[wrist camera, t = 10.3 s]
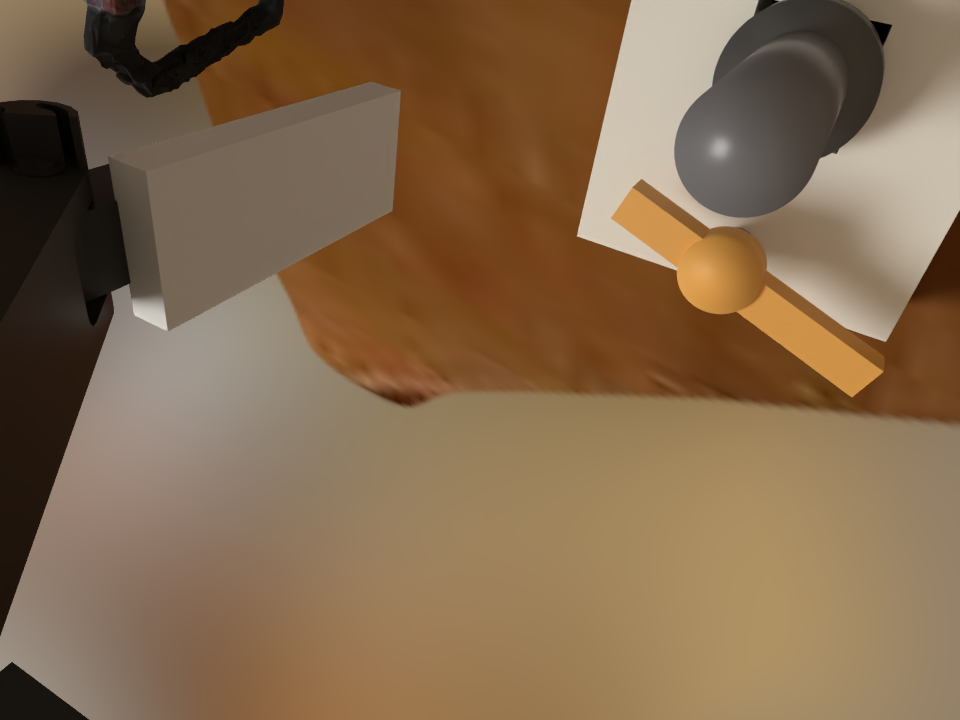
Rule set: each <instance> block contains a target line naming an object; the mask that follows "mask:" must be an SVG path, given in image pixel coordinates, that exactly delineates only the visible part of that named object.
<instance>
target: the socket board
mask: <svg viewBox="0 0 960 720" xmlns="http://www.w3.org/2000/svg"><path fill="white" fill-rule="evenodd" d="M772 1H773V0H632V1H631V5H630V9H629V14H628V18H627V22H626V27H625V31H624V35H623V40H622V44H621V48H620V53H619V57H618V61H617V65H616V70H615V74H614V78H613V83H612V87H611V91H610V96H609V100H608V104H607V109H606V113H605V117H604V122H603V126H602V130H601V135H600V139H599V143H598V148H597V152H596V156H595V160H594V165H593V169H592V173H591V178H590V182H589V186H588V191H587V195H586V199H585V204H584V208H583V212H582V217H581V221H580V225H579V230H578V234H577V236H578V237H581V238H584V239H587V240H590V241H593V242H596V243H598V244H601V245H604V246H607V247H610V248H613V249H616V250H619V251H622V252H625V253H628V254H631V255H633V256H636V257H639V258H642V259H645V260H648V261H651V262H654V263H657V264H660V265H663V266H666V267H668V268H671V269H674V270H677V269H678V268H677V267H676V266H674V265H673V264H672V263H670V262H669V261H668V260H666V259H665V258H664V257H662V256H661V255H660V254H658V253H657V252H656V251H654V250H653V249H652V248H650V247H649V246H648V245H646V244H645V243H643V242H642V241H641V240H639V239H638V238H637V237H635V236H634V235H633V234H631V233H630V232H629V231H627V230H626V229H625V228H623V227H622V226H621V225H619V224H618V223H617V222H615V221H614V220H613V219H611V217H612V216H613V214H614V213H615V212H616V210H617V209H618V207H619V206H620V204H621V203H622V202H623V200H624V199H625V197H626V196H627V194H628V193H629V191H630V190H631V189H632V187H633V186H634V185H635V184H636V183H638V182H639V181H640V180H641V179H642V180H644V181H645V182H647V183H648V184H649V185H651V186H652V187H653V188H655V189H656V190H657V191H659V192H660V193H662V194H663V195H664V196H666V197H667V198H668V199H670V200H671V201H672V202H674V203H675V204H677V205H678V206H679V207H681V208H682V209H683V210H685V211H686V212H687V213H689V214H690V215H692V216H693V217H694V218H696V219H697V220H698V221H700V222H701V223H703V224H704V225H705V226H707V227H708V228H709V229H711V228H714V227H720V226H731V227H736V228H739V229H742V230H744V231H746V232H748V233H750V234H751V235H752V236H754V237H755V238H756V239H757V240H758V241H759V243H760V244H761V245H762V247H763V249H764V251H765V254H766V259H767V271H768V272H769V273H771V274H772V275H773V276H775V277H776V278H778V279H779V280H780V281H782V282H783V283H784V284H786V285H787V286H789V287H790V288H791V289H793V290H794V291H795V292H797V293H798V294H799V295H801V296H802V297H804V298H805V299H806V300H808V301H809V302H810V303H812V304H813V305H814V306H816V307H817V308H819V309H820V310H821V311H823V312H824V313H825V314H827V315H828V316H829V317H831V318H832V319H834V320H835V321H836V322H838V323H839V324H840V325H842V326H843V327H844V328H847V329H849V330H852V331H855V332H858V333H861V334H864V335H867V336H870V337H873V338H876V339H879V340H882V341H884V342H886V341H887V339H888V337H889V335H890V333H891V332H892V330H893V328H894V326H895V325H896V323H897V321H898V319H899V317H900V316H901V314H902V312H903V310H904V308H905V307H906V305H907V303H908V301H909V300H910V298H911V296H912V294H913V292H914V291H915V289H916V287H917V285H918V283H919V282H920V280H921V278H922V276H923V275H924V273H925V271H926V269H927V267H928V266H929V264H930V262H931V260H932V258H933V257H934V255H935V253H936V251H937V250H938V248H939V246H940V244H941V242H942V241H943V239H944V237H945V235H946V233H947V232H948V230H949V228H950V226H951V225H952V223H953V221H954V219H955V217H956V216H957V214H958V212H959V210H960V0H843V1H846V2H848V3H850V4H851V5H853V6H854V7H856V8H858V9H859V10H860V11H861V12H862V13H863V14H864V15H866V16H867V18H868V19H869V20H871V21H876V22H881V23H886V24H890V25H891V26H890V28H889V31H888V33H887V35H886V38H885V40H884V42H883V44H882V46H883V51H884V60H885V68H884V78H883V82H882V87H881V91H880V95H879V98H878V100H877V103H876V106H875V108H874V110H873V112H872V114H871V116H870V117H869V119H868V120H867V122H866V123H865V125H864V126H863V127H862V128H861V130H860V131H859V132H858V133H857V134H856V135H855V136H854V137H853V138H852V139H851V140H850V141H849V142H848V143H846V144H845V145H844V146H842V147H841V148H839V149H838V150H836V151H835V152H833V153H831V154H829V155H827V156H825V157H823V158H820V159H819V162H818V164H817V166H816V169H815V171H814V173H813V175H812V177H811V179H810V180H809V182H808V183H807V185H806V186H805V188H804V189H803V190H802V191H801V192H800V193H799V195H797V196H796V197H795V198H794V199H793V200H792V201H791V202H789V203H788V204H786V205H785V206H783V207H781V208H779V209H778V210H776V211H773V212H771V213H768V214H765V215H761V216H757V217H749V218H737V217H729V216H725V215H721V214H718V213H716V212H713V211H711V210H709V209H707V208H706V207H704V206H703V205H701V204H700V203H698V202H697V201H696V200H695V199H694V198H693V197H692V196H691V195H690V194H689V192H688V191H687V190H686V188H685V187H684V185H683V184H682V182H681V180H680V177H679V175H678V172H677V169H676V164H675V159H674V146H675V138H676V134H677V130H678V128H679V125H680V122H681V120H682V119H683V117H684V115H685V113H686V112H687V110H688V109H689V107H690V106H691V105H692V104H693V103H694V102H695V101H696V100H697V99H698V98H699V97H700V96H701V95H702V94H703V93H704V92H706V91H707V90H708V89H709V88H711V87H712V82H713V76H714V71H715V67H716V65H717V62H718V59H719V57H720V55H721V53H722V51H723V49H724V47H725V46H726V44H727V43H728V41H729V40H730V38H731V37H732V36H733V35H734V33H735V32H736V31H737V30H738V29H739V28H740V27H741V26H742V25H743V24H744V23H745V22H746V21H747V20H749V19H750V18H752V17H753V16H754V15H756V14H757V13H759V12H760V11H762V10H764V9H766V8H767V7H769V6H771V4H772ZM777 1H782V0H777Z"/></svg>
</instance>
